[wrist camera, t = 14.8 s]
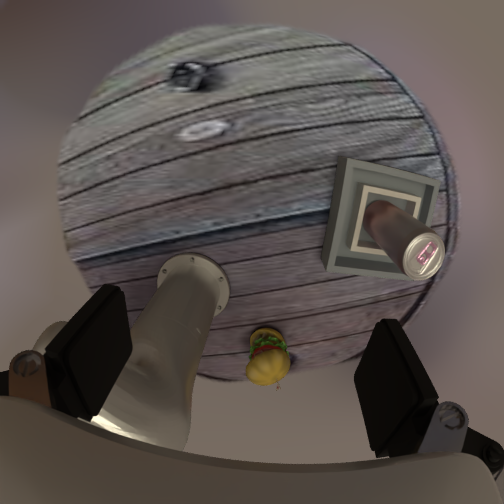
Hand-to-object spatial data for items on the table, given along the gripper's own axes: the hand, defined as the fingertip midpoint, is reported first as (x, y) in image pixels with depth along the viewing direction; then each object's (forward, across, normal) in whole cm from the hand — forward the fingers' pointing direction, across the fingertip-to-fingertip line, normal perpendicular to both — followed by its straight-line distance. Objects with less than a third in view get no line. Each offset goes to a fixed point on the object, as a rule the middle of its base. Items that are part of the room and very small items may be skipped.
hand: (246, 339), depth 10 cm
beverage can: (+32, -18, +2) cm, 37 cm away
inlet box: (+33, -18, +2) cm, 38 cm away
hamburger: (+34, -4, +27) cm, 43 cm away
